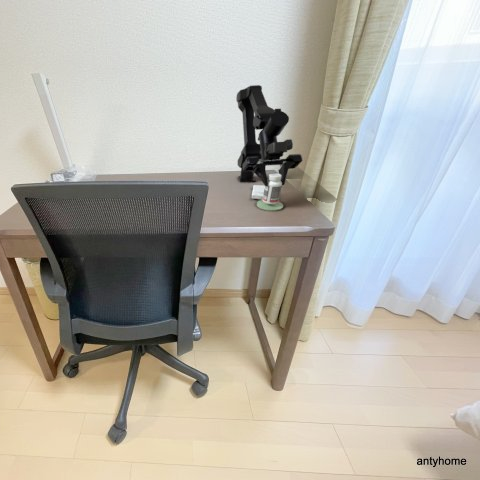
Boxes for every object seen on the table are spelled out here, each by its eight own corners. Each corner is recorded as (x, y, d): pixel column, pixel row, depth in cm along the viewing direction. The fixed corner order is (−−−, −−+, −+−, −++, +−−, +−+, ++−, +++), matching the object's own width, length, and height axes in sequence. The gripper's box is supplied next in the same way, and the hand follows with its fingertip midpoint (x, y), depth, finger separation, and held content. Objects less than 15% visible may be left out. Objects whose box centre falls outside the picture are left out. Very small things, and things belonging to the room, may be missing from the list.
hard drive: (273, 190, 105) (274, 200, 95) (252, 188, 108) (251, 198, 98) (274, 186, 104) (275, 196, 94) (253, 184, 107) (251, 194, 97)
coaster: (254, 200, 97) (254, 199, 97) (278, 200, 96) (279, 199, 96) (259, 211, 90) (259, 209, 89) (286, 210, 89) (286, 209, 89)
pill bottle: (279, 199, 93) (285, 173, 88) (276, 205, 89) (282, 178, 84) (264, 197, 96) (269, 171, 90) (260, 202, 92) (265, 176, 87)
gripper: (249, 132, 83) (255, 176, 80) (307, 128, 83) (315, 173, 80) (240, 150, 94) (245, 190, 91) (291, 147, 94) (297, 187, 91)
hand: (275, 185), depth 88 cm, fingers closed on pill bottle, 5 cm apart
